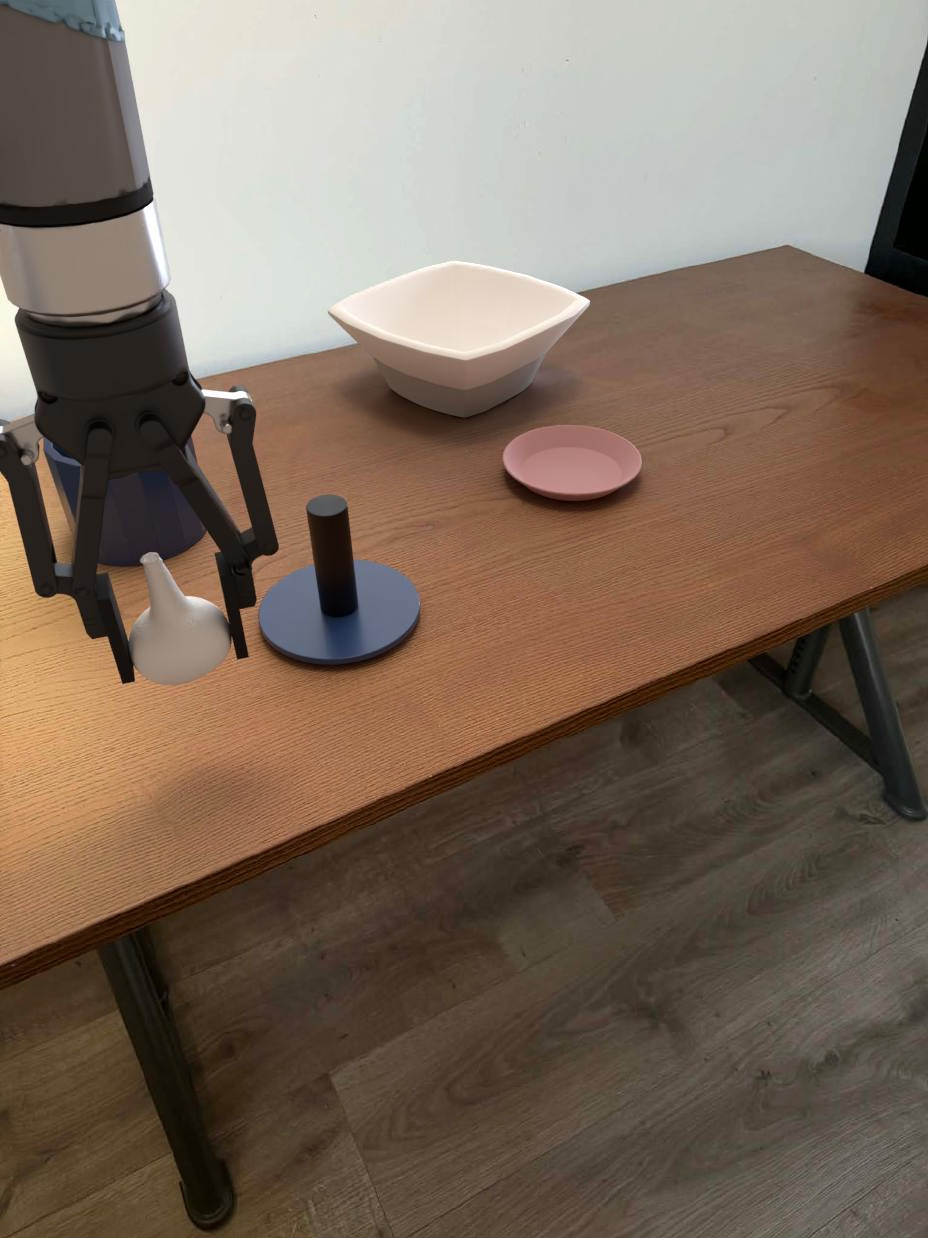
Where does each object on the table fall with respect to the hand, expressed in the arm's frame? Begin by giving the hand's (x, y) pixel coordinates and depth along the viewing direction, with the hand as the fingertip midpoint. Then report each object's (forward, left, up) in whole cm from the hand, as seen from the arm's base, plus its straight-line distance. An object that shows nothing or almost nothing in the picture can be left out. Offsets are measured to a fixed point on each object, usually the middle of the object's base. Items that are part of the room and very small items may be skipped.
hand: (184, 656), depth 60 cm
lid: (+12, +14, -10) cm, 21 cm away
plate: (+40, +29, -11) cm, 51 cm away
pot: (-3, +34, -11) cm, 36 cm away
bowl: (+36, +53, -11) cm, 65 cm away
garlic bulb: (0, 0, -1) cm, 1 cm away
